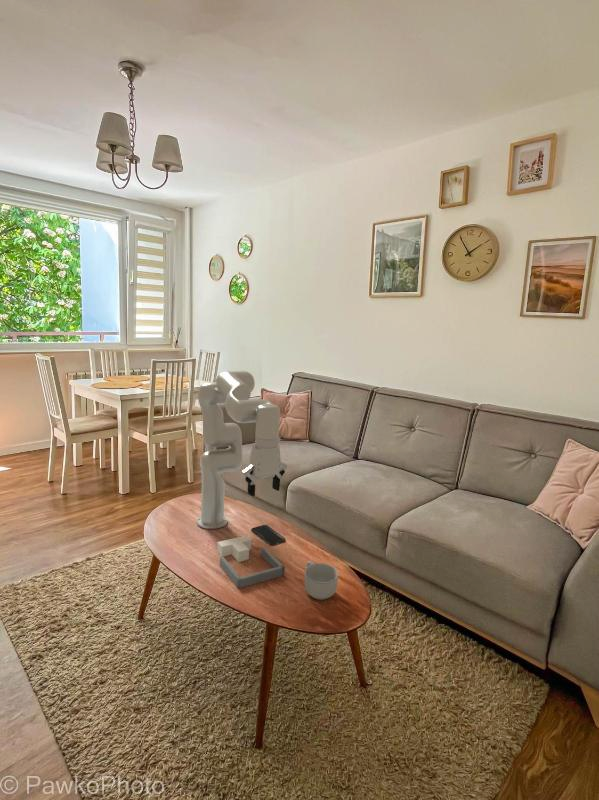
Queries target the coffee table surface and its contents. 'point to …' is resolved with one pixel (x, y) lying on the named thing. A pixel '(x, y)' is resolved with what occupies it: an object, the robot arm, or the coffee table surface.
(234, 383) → the robot arm
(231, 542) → the t block
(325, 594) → the teacup
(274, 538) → the phone
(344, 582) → the coffee table surface
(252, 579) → the bay
